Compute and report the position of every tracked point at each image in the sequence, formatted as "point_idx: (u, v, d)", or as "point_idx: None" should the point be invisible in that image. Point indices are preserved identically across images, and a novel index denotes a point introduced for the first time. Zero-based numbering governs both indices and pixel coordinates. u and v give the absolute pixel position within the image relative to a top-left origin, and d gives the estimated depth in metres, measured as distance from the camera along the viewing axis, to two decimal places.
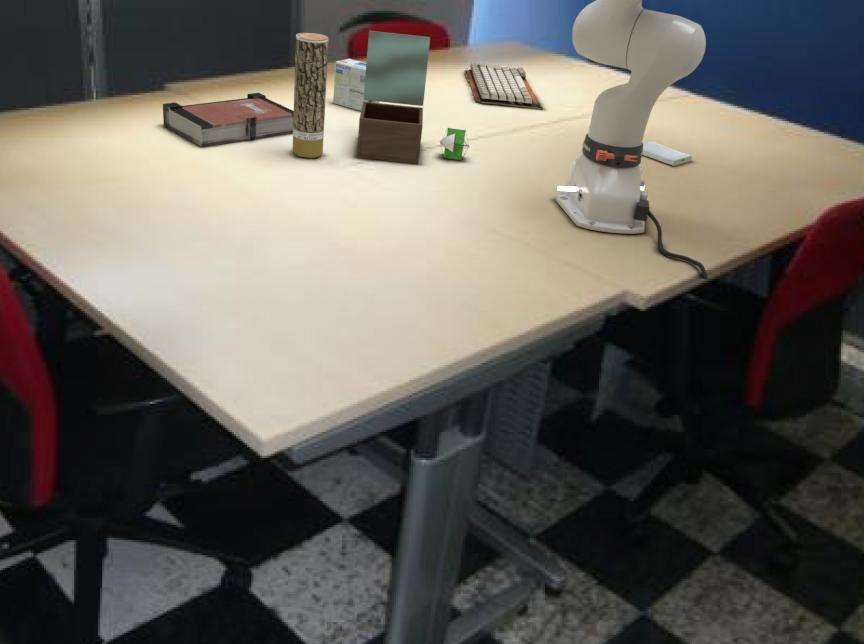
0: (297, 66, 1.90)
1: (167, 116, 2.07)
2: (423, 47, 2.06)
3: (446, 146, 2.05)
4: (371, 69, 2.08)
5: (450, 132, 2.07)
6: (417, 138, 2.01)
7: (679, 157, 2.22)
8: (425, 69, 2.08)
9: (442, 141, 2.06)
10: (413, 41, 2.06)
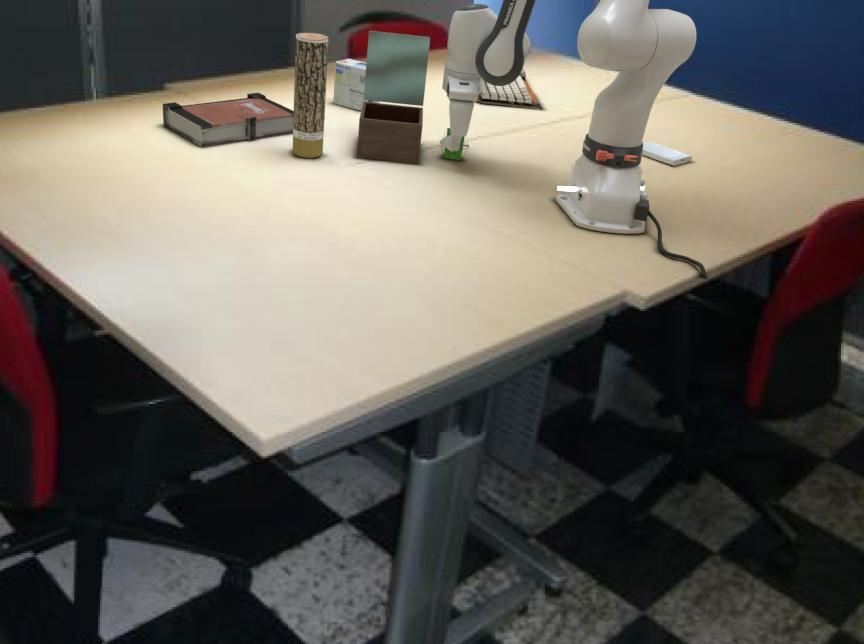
0: (297, 66, 1.90)
1: (167, 116, 2.07)
2: (423, 47, 2.06)
3: (446, 146, 2.05)
4: (371, 69, 2.08)
5: None
6: (417, 138, 2.01)
7: (679, 157, 2.22)
8: (425, 69, 2.08)
9: (442, 141, 2.06)
10: (413, 41, 2.06)
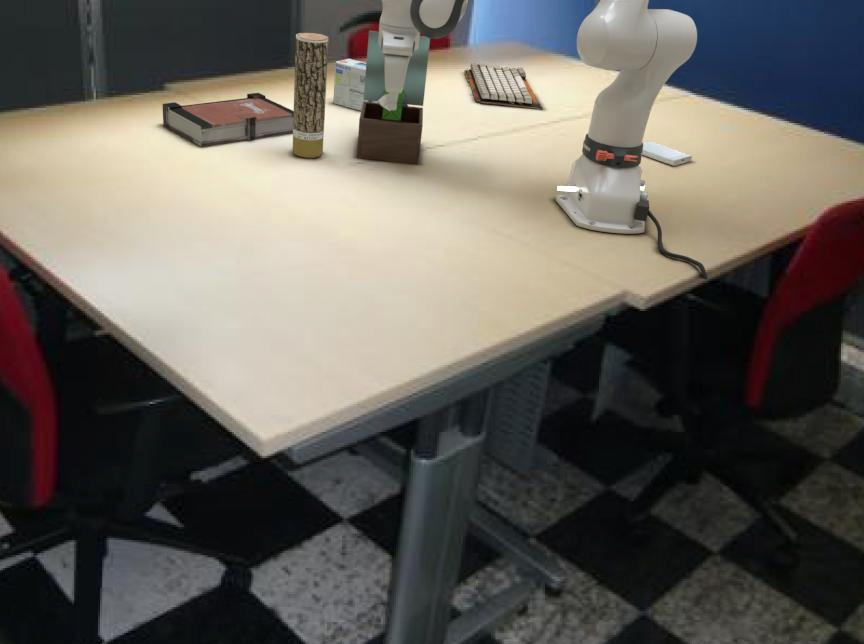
0: (297, 66, 1.90)
1: (167, 116, 2.07)
2: (423, 47, 2.06)
3: (383, 105, 1.98)
4: (371, 69, 2.08)
5: (388, 92, 2.01)
6: (417, 138, 2.01)
7: (679, 157, 2.22)
8: (425, 69, 2.08)
9: (379, 100, 1.99)
10: None
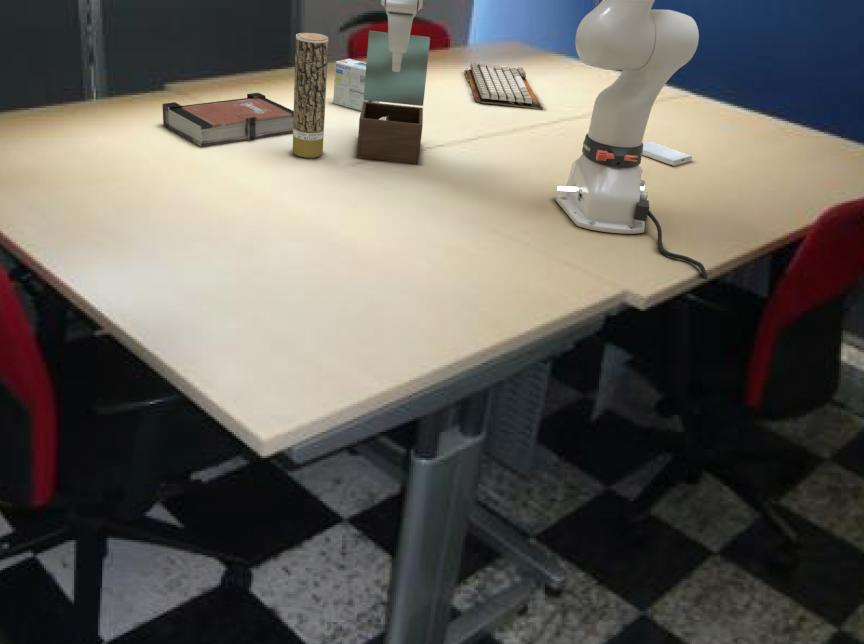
0: (297, 66, 1.90)
1: (167, 116, 2.07)
2: (423, 47, 2.06)
3: None
4: (371, 69, 2.08)
5: None
6: (417, 138, 2.01)
7: (679, 157, 2.22)
8: (425, 69, 2.08)
9: None
10: (413, 41, 2.06)
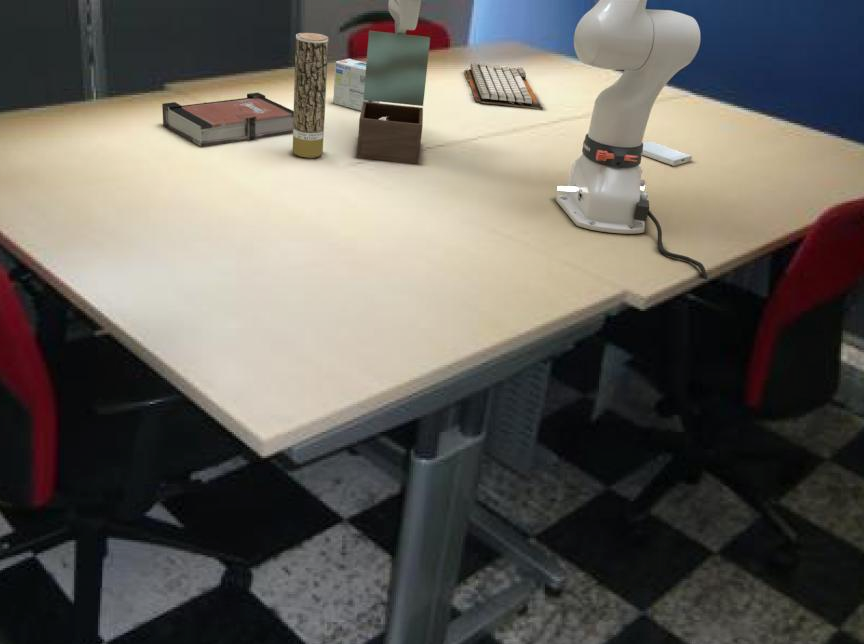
0: (297, 66, 1.90)
1: (167, 116, 2.07)
2: (423, 47, 2.06)
3: None
4: (371, 69, 2.08)
5: None
6: (417, 138, 2.01)
7: (679, 157, 2.22)
8: (425, 69, 2.08)
9: None
10: (413, 41, 2.06)
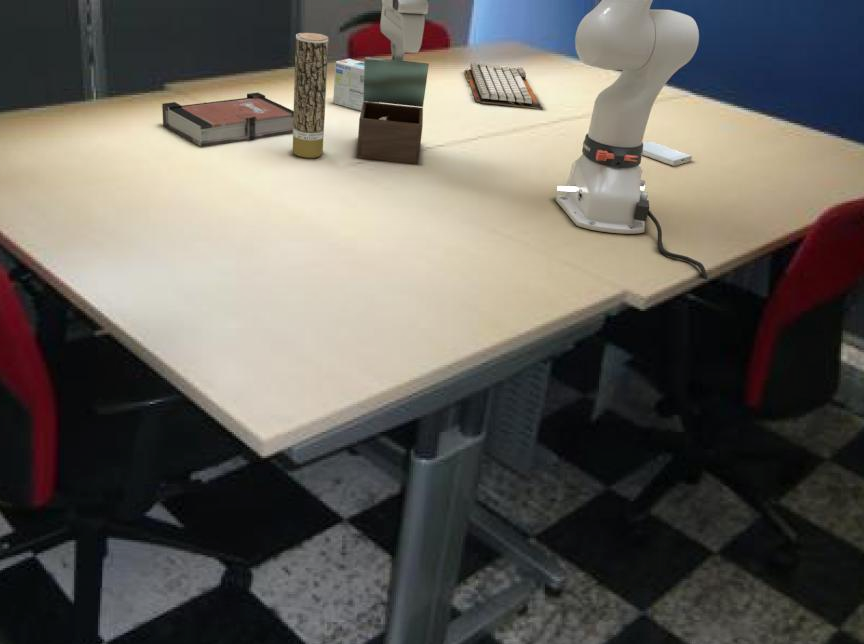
0: (297, 66, 1.90)
1: (166, 116, 2.07)
2: (421, 72, 1.98)
3: None
4: (369, 83, 2.03)
5: None
6: (417, 138, 2.01)
7: (679, 157, 2.22)
8: (424, 85, 2.03)
9: None
10: (411, 67, 1.97)
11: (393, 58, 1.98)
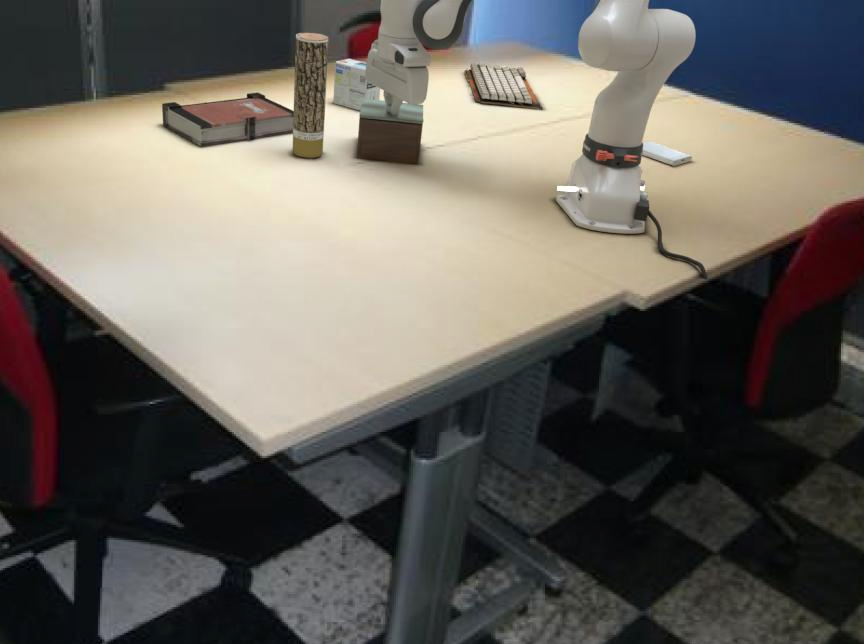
0: (297, 66, 1.90)
1: (166, 116, 2.07)
2: None
3: None
4: None
5: None
6: (417, 138, 2.01)
7: (679, 157, 2.22)
8: None
9: None
10: None
11: (389, 108, 1.99)
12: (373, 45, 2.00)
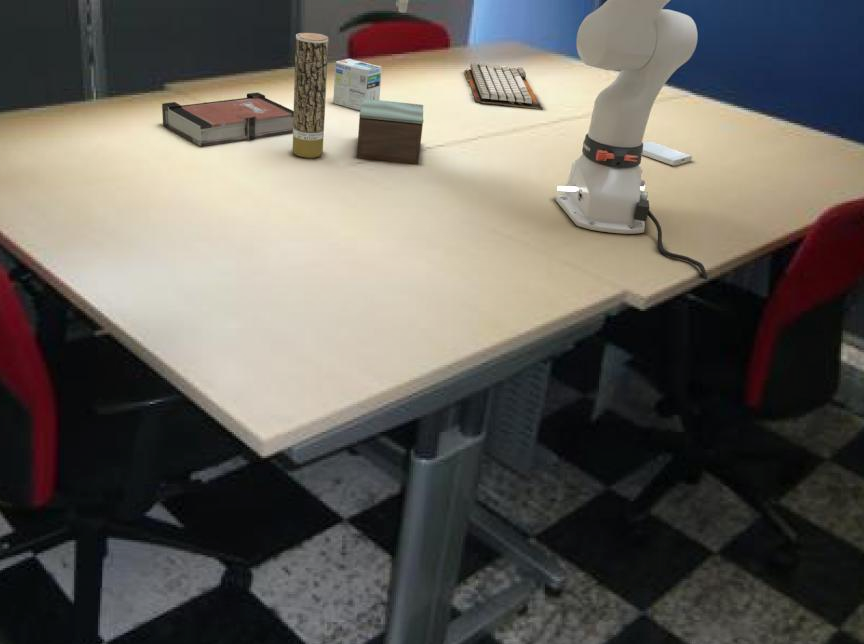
0: (297, 66, 1.90)
1: (166, 116, 2.07)
2: None
3: None
4: None
5: None
6: (417, 138, 2.01)
7: (679, 157, 2.22)
8: None
9: None
10: None
11: (397, 4, 1.88)
12: None
